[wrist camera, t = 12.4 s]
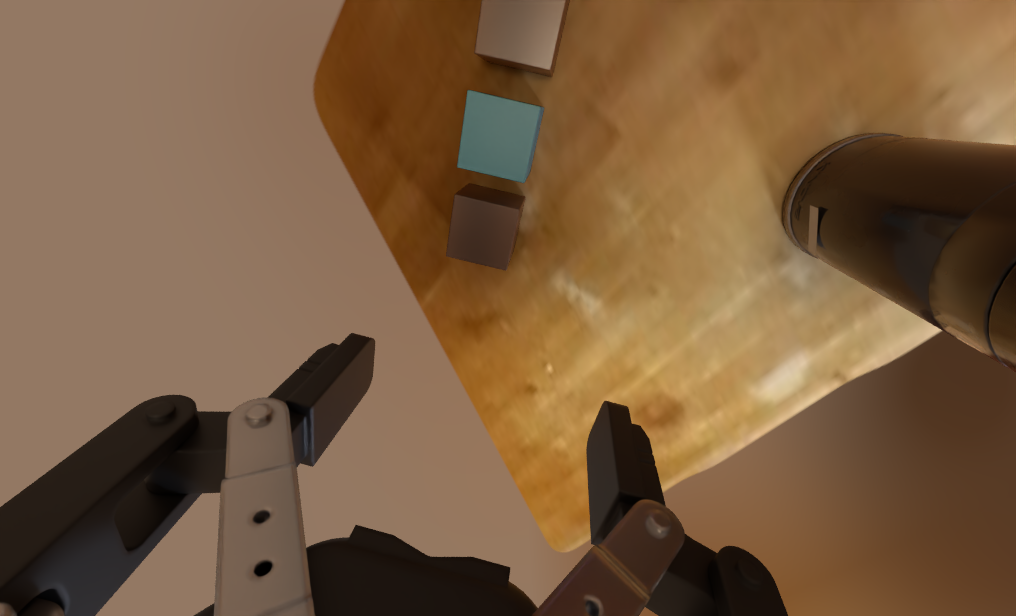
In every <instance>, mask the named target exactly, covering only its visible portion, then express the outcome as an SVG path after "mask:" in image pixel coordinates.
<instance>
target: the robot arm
mask: <svg viewBox="0 0 1016 616" xmlns="http://www.w3.org/2000/svg"><path fill="white" fill-rule="evenodd" d="M783 222H784V227H785V230H786V232H787V234H788V236H789V238H790V240H791V241H792V242H793V243H794V244H795V245H796V246H797V247H798V248H800V249H801V250H802V251H804V252H806V253H808V254H809V255H811V256H813V257H816V258H818V259H821V260H822V261H824V262H826V263H828V264H829V265H831V266H832V267H834V268H836V269H838V270H839V271H841V272H843V273H844V274H846V275H848V276H850V277H851V278H853V279H855V280H857V281H858V282H860V283H862V284H863V285H865V286H867V287H869V288H870V289H872V290H874V291H876V292H877V293H879V294H881V295H882V296H884V297H886V298H888V299H889V300H891V301H893V302H895V303H896V304H898V305H900V306H901V307H903V308H905V309H907V310H908V311H910V312H912V313H914V314H915V315H917V316H919V317H920V318H922V319H924V320H926V321H927V322H929V323H931V324H933V325H934V326H936V327H938V328H939V329H941V330H943V331H945V332H946V333H948V334H950V335H952V336H953V337H955V338H957V339H959V340H961V341H963V342H964V343H966V344H968V345H969V346H971V347H973V348H975V349H976V350H978V351H980V352H982V353H983V354H985V355H987V356H988V357H990V358H992V359H994V360H996V361H997V362H999V363H1001V364H1002V365H1004V366H1006V367H1008V368H1009V369H1011V370H1013V371H1014V372H1016V145H1003V144H990V143H977V142H964V141H951V140H938V139H927V138H915V137H903V136H900V135H894V134H883V133H869V134H861V135H857V136H853V137H850V138H847V139H844V140H842V141H839V142H837V143H835V144H833V145H831V146H830V147H828V148H826V149H825V150H823V151H822V152H820V153H819V154H818V155H816V156H815V157H814V158H813V159H812V160H811V161H809V162H808V163H807V164H806V166H805V167H804V168H803V169H802V170H801V171H800V172H799V174H798V175H797V177H796V178H795V179H794V181H793V183H792V185H791V186H790V188H789V191H788V193H787V196H786V199H785V203H784V208H783ZM374 353H375V340H374V339H373V338H369V337H366V336H361V335H358V334H354V333H351V334H350V335H349V336H348V337H347V338H346V339H345V340H344V341H343V342H342V343H341V344H340V345H337V344H333V343H332V344H329V345H327V346H325V347H323V348H321V349H318V350H317V351H316V352H315V353H314V354H313V355H312V356H311V357H310V358H309V359H308V360H307V361H305V362H304V363H303V364H302V365H301V366H300V367H299V369H297V370H296V371H295V372H294V373H293V374H292V375H291V376H290V377H289V378H288V379H287V380H285V381H284V382H283V383H282V384H281V385H280V386H279V387H278V388H277V389H276V390H275V391H274V392H273V393H272V394H271V395H270V396H269V397H268V398H257V399H253V400H250V401H247V402H245V403H243V404H241V405H239V406H238V407H236V408H235V409H234V410H233V411H232V412H198V411H197V408H196V404H195V402H194V401H193V400H192V399H191V398H189V397H186V396H182V395H166V396H160V397H156V398H153V399H150V400H147V401H145V402H143V403H141V404H139V405H138V406H136V407H134V408H133V409H132V410H130V411H129V412H128V413H126V414H125V415H124V416H122V417H121V418H120V419H118V420H117V421H116V422H114V423H113V424H111V425H110V426H109V427H108V428H106V429H105V430H103V431H102V432H101V433H99V434H98V435H97V436H95V437H94V438H93V439H91V440H90V441H89V442H87V443H86V444H85V445H83V446H82V447H81V448H79V449H78V450H77V451H75V452H74V453H72V454H71V455H70V456H69V457H67V458H66V459H65V460H63V461H62V462H60V463H59V464H58V465H57V466H55V467H54V468H52V469H51V470H50V471H48V472H47V473H46V474H45V475H43V476H42V477H40V478H39V479H38V480H36V481H35V482H34V483H32V484H31V485H29V486H28V487H27V488H25V489H24V490H23V491H21V492H20V493H19V494H17V495H16V496H15V497H13V498H12V499H11V500H9V501H8V502H7V503H5V504H4V505H3V506H1V507H0V616H95V615H96V614H97V613H98V612H99V611H100V609H101V608H102V607H103V606H104V604H106V602H107V601H108V600H109V599H110V598H111V597H112V596H113V594H114V593H115V592H116V591H117V590H118V589H119V588H120V586H121V585H122V584H123V583H124V582H125V581H126V580H127V578H128V577H129V576H130V575H131V574H132V573H133V572H134V570H135V569H136V568H137V567H138V566H139V565H140V564H141V562H142V561H143V560H144V559H145V558H146V557H147V556H148V554H149V553H150V552H151V551H152V550H153V549H154V548H155V546H156V545H157V544H158V543H159V542H160V540H161V539H162V538H163V537H164V536H165V535H166V534H167V533H168V532H169V530H170V529H171V528H172V527H173V526H174V525H175V524H176V522H177V521H178V520H179V519H180V518H181V517H182V515H183V514H184V513H185V512H186V511H187V510H188V509H189V508H190V506H191V505H192V504H193V503H194V502H195V501H196V499H197V498H198V497H199V496H200V495H201V494H202V493H220V510H219V529H218V548H217V567H216V585H215V603H214V604H212V605H210V606H209V607H207V608H205V609H204V610H203V611H201V612H199V613H198V614H196V615H194V616H639V615H640V613H641V612H642V610H643V609H644V607H646V608H648V609H649V610H651V611H652V612H654V613H655V614H657V615H658V616H788V614H787V612H786V609H785V606H784V604H783V601H782V599H781V596H780V593H779V591H778V588H777V586H776V583H775V581H774V579H773V577H772V575H771V574H770V572H769V571H768V570H767V568H766V567H765V566H764V565H763V564H762V563H761V562H760V561H759V560H758V559H757V558H756V557H754V556H753V555H752V554H750V553H749V552H747V551H745V550H743V549H741V548H739V547H735V546H726V547H723V548H722V549H721V550H720V551H719V552H718V553H716V552H714V551H713V550H711V549H709V548H707V547H706V546H703V545H702V544H700V543H698V542H697V541H695V540H693V539H692V538H690V537H689V536H687V535H686V534H685V533H684V529H683V527H682V524H681V523H680V521H679V519H678V518H677V517H676V516H675V514H674V513H673V512H672V511H670V509H668V508H667V507H666V505H665V501H664V497H663V493H662V489H661V485H660V481H659V477H658V473H657V468H656V466H655V460H654V456H653V455H652V448H651V444H650V440H649V438H648V436H647V435H646V433H645V432H644V430H643V429H642V428H641V426H639V425H636V424H632V423H631V418H630V413H629V409H628V407H627V406H624V405H620V404H616V403H612V402H609V401H604V402H603V404H602V406H601V408H600V411H599V413H598V415H597V418H596V420H595V422H594V425H593V427H592V429H591V432H590V434H589V438H588V442H587V471H588V490H589V509H590V528H591V544H593V545H594V546H593V547H592V548H591V549H590V550H589V551H588V553H587V554H586V555H585V556H584V557H583V558H582V559H581V561H580V562H579V563H578V564H577V565H576V566H575V567H574V568H573V570H572V571H571V572H570V573H569V574H568V575H567V576H566V577H565V579H564V580H563V581H562V582H561V583H560V584H559V585H558V586H557V588H556V589H555V590H554V591H553V592H552V593H551V594H550V595H549V597H548V598H547V599H546V600H545V601H544V602H543V603H542V605H541V606H540V607H539V608H537V607H536V605H535V604H534V603H533V602H532V600H531V599H530V598H529V597H528V596H527V595H526V594H525V593H524V592H523V591H522V590H520V589H519V588H518V587H517V586H515V585H514V584H512V583H511V582H509V574H510V567H507V566H503V565H500V564H496V563H492V562H489V561H485V560H481V559H478V558H474V557H430V556H427V555H425V554H424V553H422V552H420V551H419V550H417V549H415V548H414V547H412V546H410V545H409V544H407V543H405V542H404V541H402V540H401V539H399V538H397V537H396V536H394V535H391V534H387V533H384V532H379V531H376V530H373V529H369V528H366V527H362V526H358V525H356V526H355V527H354V529H353V531H352V533H351V535H350V537H349V538H336V539H330V540H326V541H322V542H320V543H317V544H314V545H311V546H309V547H307V548H306V544H305V535H304V527H303V518H302V510H301V501H300V493H299V484H298V476H297V467H298V465H299V464H300V463H301V464H305V465H309V466H314V465H315V463H316V462H317V460H318V459H319V458H320V456H321V455H322V453H323V452H324V451H325V449H326V448H327V446H328V445H329V444H330V442H331V441H332V440H333V438H334V437H335V435H336V434H337V432H338V431H339V430H340V428H341V427H342V425H343V424H344V423H345V421H346V420H347V419H348V417H349V416H350V414H351V413H352V412H353V410H354V409H355V408H356V406H357V405H358V403H359V402H360V401H361V399H362V398H363V396H364V395H365V394H366V392H367V390H368V388H369V386H370V384H371V381H372V377H373V367H374Z"/></svg>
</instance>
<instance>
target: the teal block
mask: <svg viewBox="0 0 1016 616" xmlns="http://www.w3.org/2000/svg"><path fill="white" fill-rule="evenodd" d="M543 111H544V107H541V106H537V105H532V104H528V103H524V102H519V101H515V100H511V99H507V98H502V97H498V96H494V95H489V94H485V93H481V92H476V91H472V90H468V91H467V98H466V105H465V113H464V120H463V127H462V134H461V141H460V149H459V156H458V163H457V167H459V168H463V169H467V170H471V171H475V172H480V173H484V174H488V175H492V176H496V177H501V178H505V179H509V180H513V181H517V182H522V183H524V182H525V181H526V179H527V177H528V175H529V173H530V170H531V165H532V161H533V156H534V152H535V147H536V143H537V138H538V134H539V129H540V125H541V120H542V116H543Z"/></svg>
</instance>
